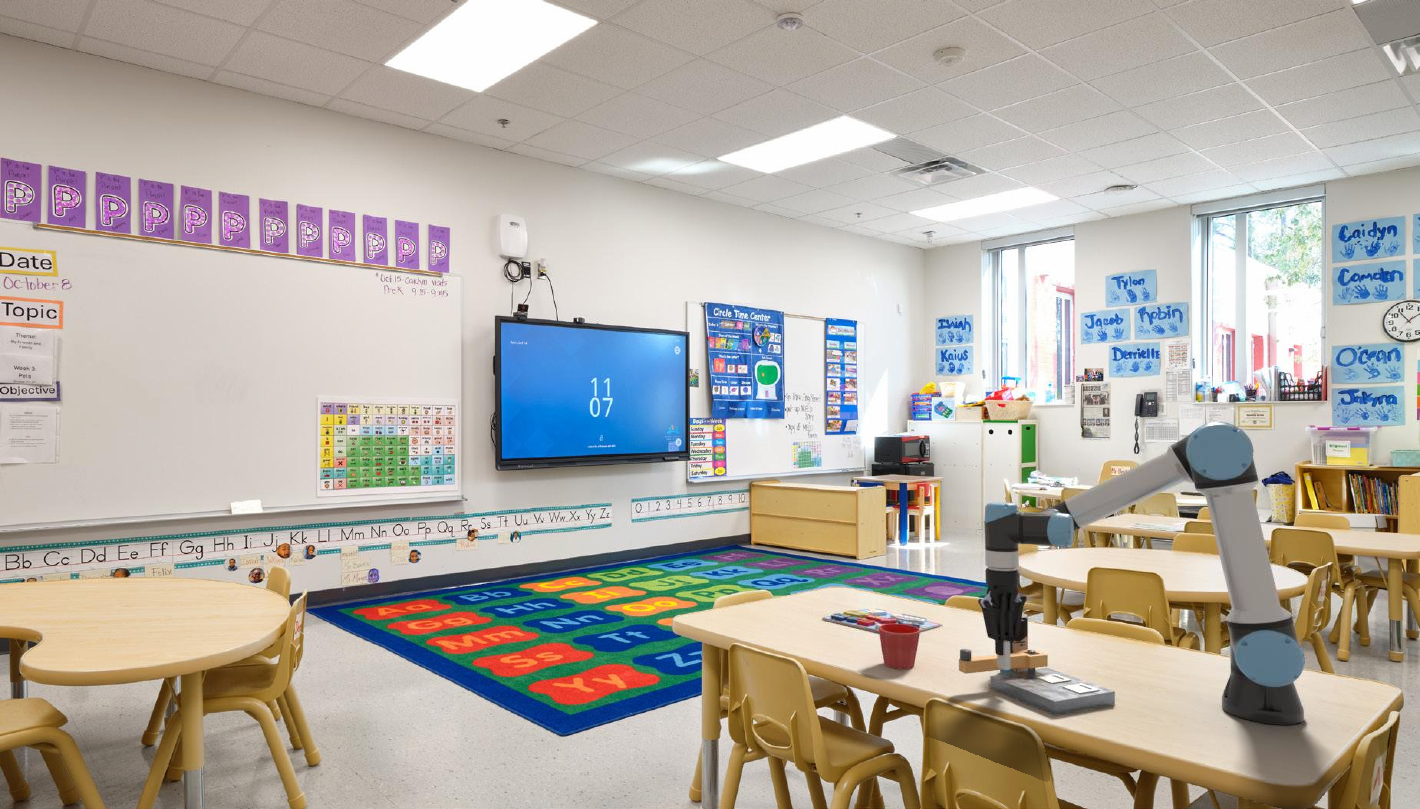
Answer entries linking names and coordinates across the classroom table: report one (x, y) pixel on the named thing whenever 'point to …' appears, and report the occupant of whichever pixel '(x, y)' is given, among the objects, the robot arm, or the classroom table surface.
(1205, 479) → the robot arm
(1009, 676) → the board
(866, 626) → the puzzle board
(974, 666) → the bar
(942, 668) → the classroom table surface
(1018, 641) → the printed cylinder
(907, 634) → the flower pot
